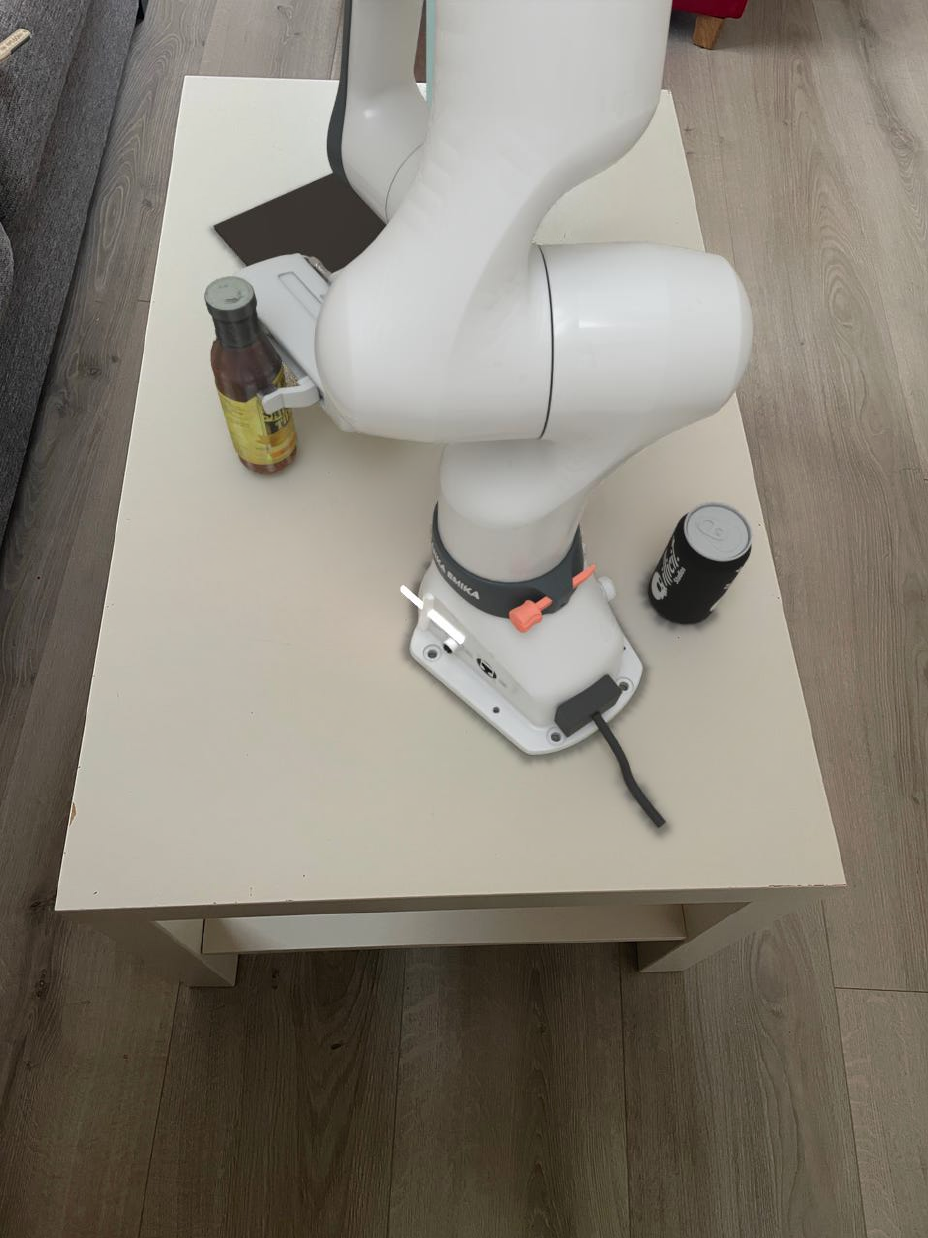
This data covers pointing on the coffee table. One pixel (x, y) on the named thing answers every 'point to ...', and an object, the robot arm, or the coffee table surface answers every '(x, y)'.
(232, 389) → the sauce bottle
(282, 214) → the mat
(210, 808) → the coffee table surface
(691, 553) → the beverage can
